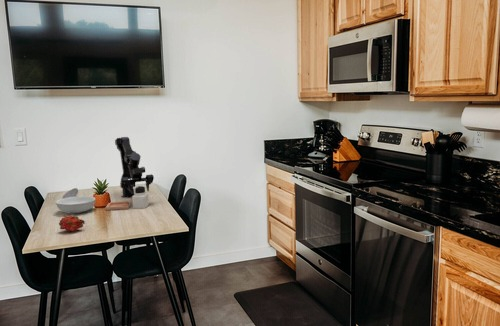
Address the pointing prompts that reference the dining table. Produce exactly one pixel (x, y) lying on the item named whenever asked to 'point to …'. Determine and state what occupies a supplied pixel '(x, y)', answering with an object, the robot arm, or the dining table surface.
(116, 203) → the terracotta tray
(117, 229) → the dining table surface
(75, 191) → the grey rounded lump
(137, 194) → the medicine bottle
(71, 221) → the dragon fruit
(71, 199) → the serving bowl
